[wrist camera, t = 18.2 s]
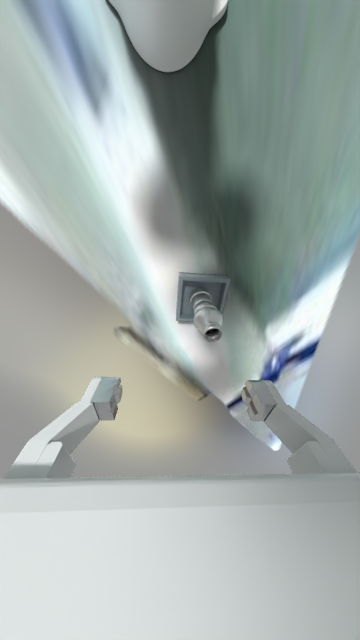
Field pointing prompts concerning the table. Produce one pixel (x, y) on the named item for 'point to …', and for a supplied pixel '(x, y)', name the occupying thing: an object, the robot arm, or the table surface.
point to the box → (191, 281)
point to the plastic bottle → (206, 314)
